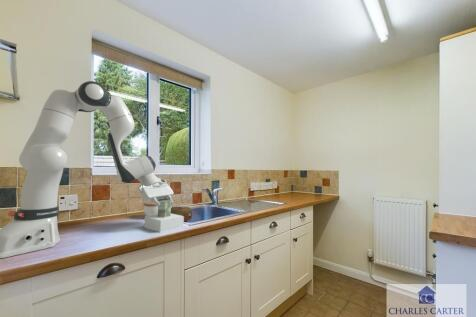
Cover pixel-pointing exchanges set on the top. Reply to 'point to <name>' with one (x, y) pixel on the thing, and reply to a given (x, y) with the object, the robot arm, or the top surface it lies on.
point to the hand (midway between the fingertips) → (165, 204)
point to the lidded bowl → (150, 208)
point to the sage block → (164, 208)
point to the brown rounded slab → (183, 212)
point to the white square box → (163, 222)
